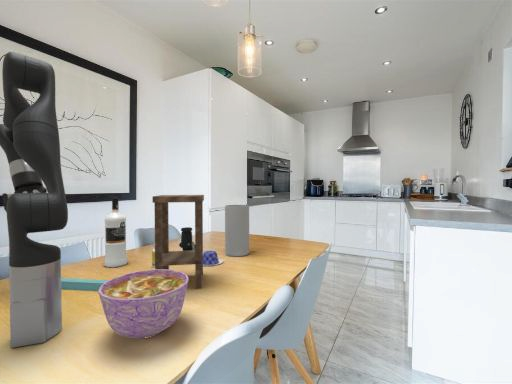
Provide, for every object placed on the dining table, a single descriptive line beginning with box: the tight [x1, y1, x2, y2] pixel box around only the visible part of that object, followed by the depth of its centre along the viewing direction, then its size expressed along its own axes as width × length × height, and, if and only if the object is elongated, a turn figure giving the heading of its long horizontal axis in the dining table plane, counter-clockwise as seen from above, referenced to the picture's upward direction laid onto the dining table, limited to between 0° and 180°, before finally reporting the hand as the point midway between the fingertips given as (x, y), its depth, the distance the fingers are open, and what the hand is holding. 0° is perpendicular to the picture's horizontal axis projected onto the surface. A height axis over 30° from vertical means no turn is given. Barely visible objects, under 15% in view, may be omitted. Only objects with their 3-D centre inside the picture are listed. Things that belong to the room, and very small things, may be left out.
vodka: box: [103, 197, 128, 268], centre depth 116 cm, size 9×9×30 cm
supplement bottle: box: [151, 243, 155, 268], centre depth 115 cm, size 5×5×10 cm
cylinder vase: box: [224, 204, 250, 258], centre depth 135 cm, size 12×12×25 cm
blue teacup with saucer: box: [203, 250, 224, 267], centre depth 120 cm, size 12×12×5 cm
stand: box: [152, 194, 205, 290], centre depth 95 cm, size 16×16×32 cm
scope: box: [178, 226, 195, 251], centre depth 132 cm, size 8×14×10 cm
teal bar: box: [61, 277, 110, 292], centre depth 90 cm, size 24×3×3 cm, turn 83°
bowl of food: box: [97, 269, 190, 339], centre depth 64 cm, size 20×20×12 cm
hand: (37, 218), depth 86 cm, fingers open, 8 cm apart
